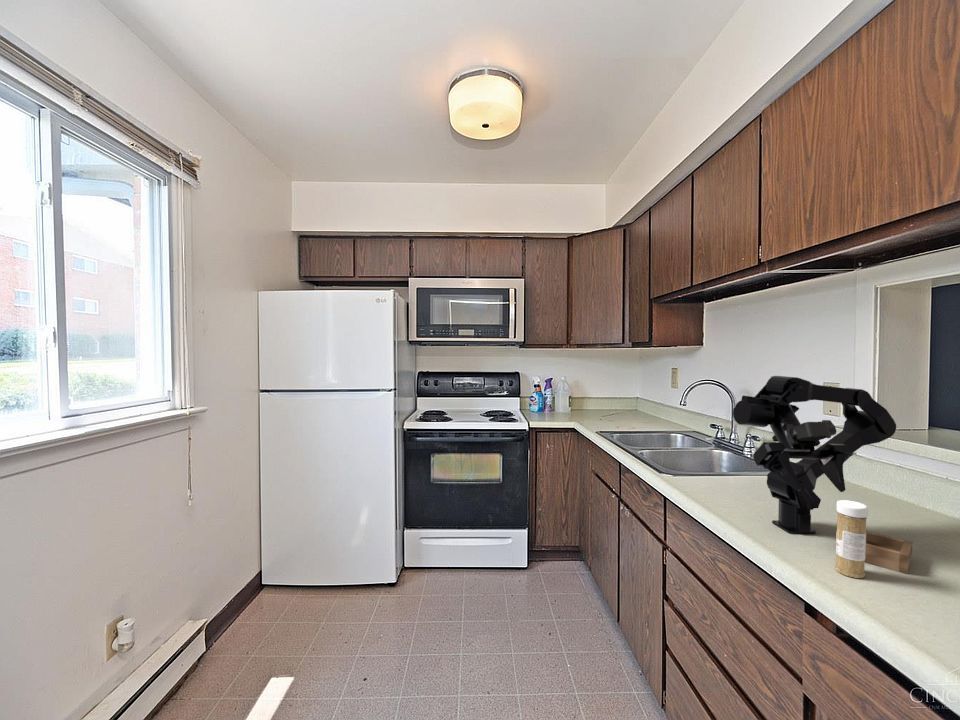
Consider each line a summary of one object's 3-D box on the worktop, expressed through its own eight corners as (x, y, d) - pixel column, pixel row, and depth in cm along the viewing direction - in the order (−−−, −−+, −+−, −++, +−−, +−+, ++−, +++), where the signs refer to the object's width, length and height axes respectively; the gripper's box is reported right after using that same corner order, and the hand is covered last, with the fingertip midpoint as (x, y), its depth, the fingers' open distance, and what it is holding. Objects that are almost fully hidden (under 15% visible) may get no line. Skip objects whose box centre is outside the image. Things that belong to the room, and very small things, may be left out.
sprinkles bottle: (836, 564, 89) (838, 497, 88) (866, 573, 86) (868, 503, 85) (833, 573, 85) (835, 503, 85) (865, 582, 82) (867, 509, 82)
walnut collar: (847, 557, 92) (847, 540, 92) (855, 544, 98) (855, 528, 98) (907, 574, 85) (908, 555, 85) (912, 559, 91) (912, 542, 91)
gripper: (764, 405, 97) (798, 469, 86) (848, 407, 98) (893, 472, 87) (740, 434, 105) (769, 496, 95) (818, 436, 106) (856, 498, 95)
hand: (821, 490), depth 93 cm, fingers open, 9 cm apart
